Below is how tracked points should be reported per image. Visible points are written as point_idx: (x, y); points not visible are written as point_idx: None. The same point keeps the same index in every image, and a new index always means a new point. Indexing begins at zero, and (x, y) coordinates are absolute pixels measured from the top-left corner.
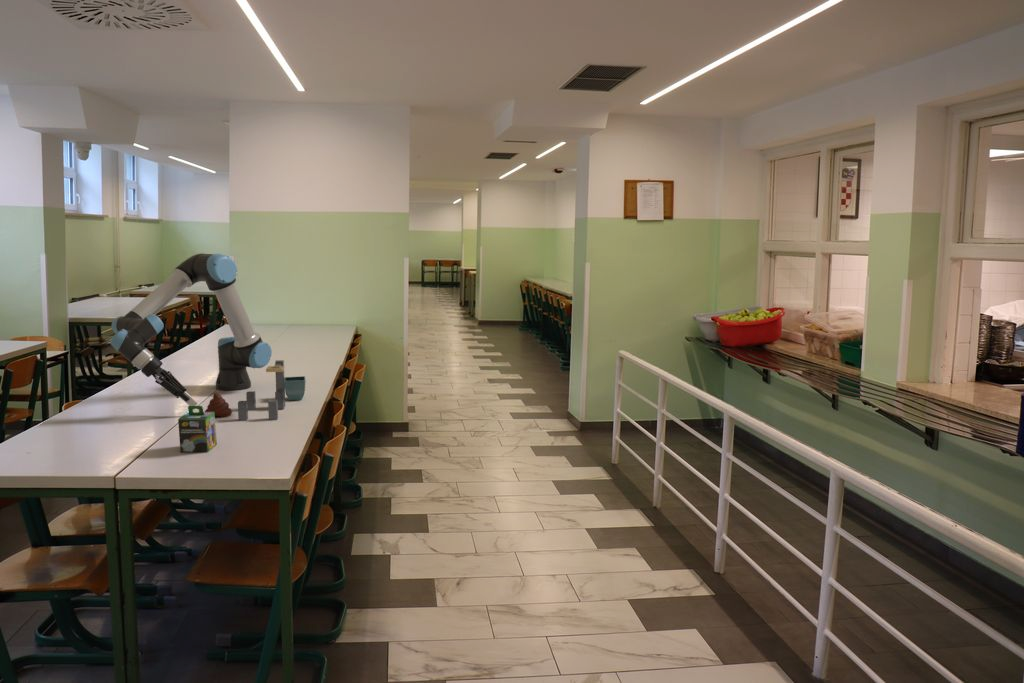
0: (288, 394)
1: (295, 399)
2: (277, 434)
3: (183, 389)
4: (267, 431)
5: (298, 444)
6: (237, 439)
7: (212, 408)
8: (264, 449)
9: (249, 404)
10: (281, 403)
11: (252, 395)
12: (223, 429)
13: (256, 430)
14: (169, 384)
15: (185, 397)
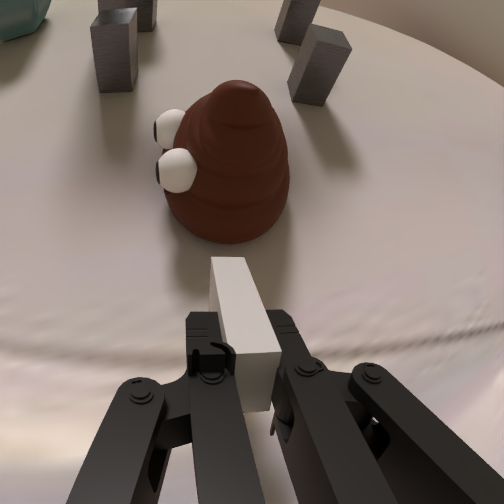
0: (39, 13)
1: (41, 21)
2: (423, 63)
3: (216, 384)
4: (411, 70)
5: (455, 59)
6: (480, 129)
7: (285, 168)
8: (495, 103)
9: (132, 63)
10: (156, 4)
11: (135, 20)
12: (433, 151)
13: (412, 84)
14: (490, 470)
15: (297, 337)
